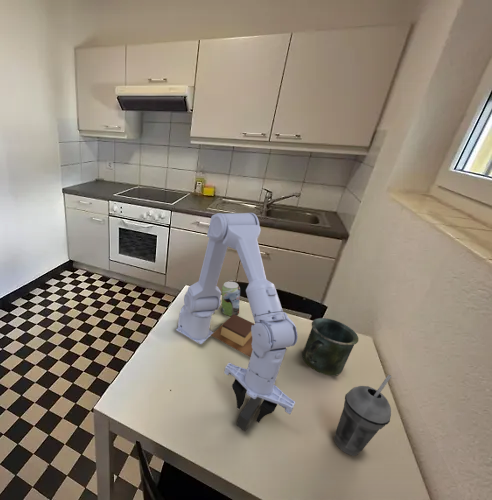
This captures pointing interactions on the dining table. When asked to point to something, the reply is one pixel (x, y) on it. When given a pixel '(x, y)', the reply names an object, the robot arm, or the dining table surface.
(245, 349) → the cake board
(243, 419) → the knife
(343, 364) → the mug
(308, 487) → the dining table surface
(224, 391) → the dining table surface
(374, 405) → the beverage cup
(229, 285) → the beverage can
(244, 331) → the cake
